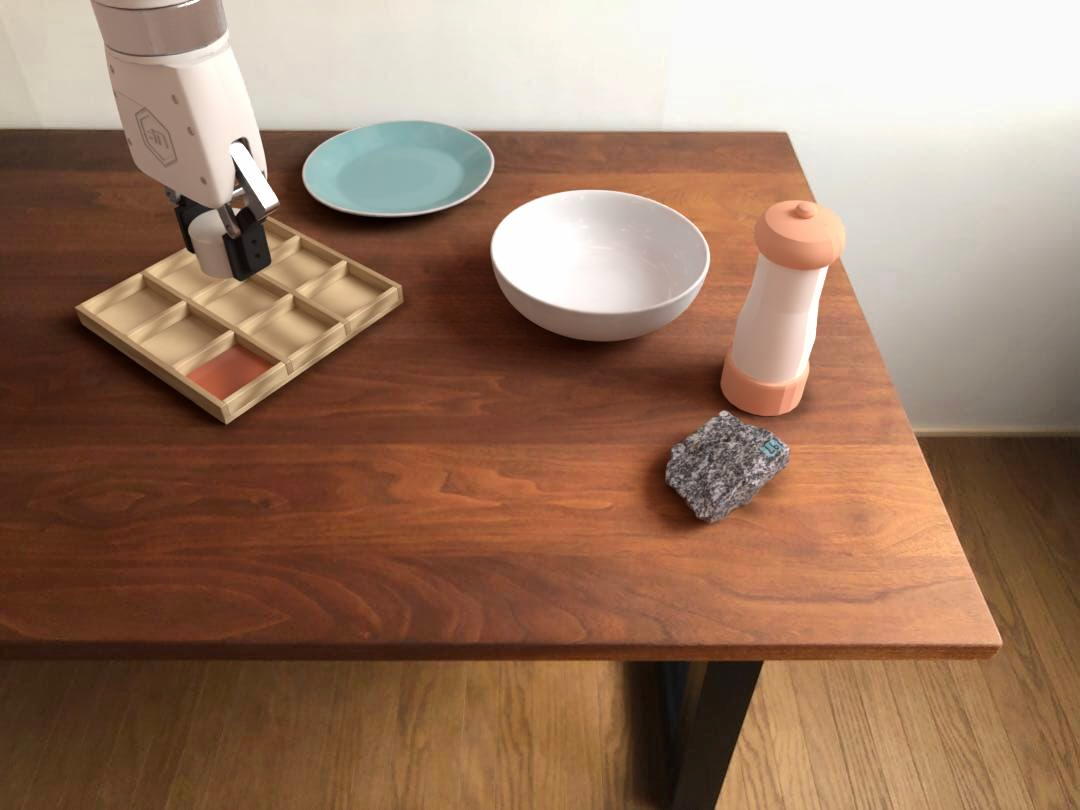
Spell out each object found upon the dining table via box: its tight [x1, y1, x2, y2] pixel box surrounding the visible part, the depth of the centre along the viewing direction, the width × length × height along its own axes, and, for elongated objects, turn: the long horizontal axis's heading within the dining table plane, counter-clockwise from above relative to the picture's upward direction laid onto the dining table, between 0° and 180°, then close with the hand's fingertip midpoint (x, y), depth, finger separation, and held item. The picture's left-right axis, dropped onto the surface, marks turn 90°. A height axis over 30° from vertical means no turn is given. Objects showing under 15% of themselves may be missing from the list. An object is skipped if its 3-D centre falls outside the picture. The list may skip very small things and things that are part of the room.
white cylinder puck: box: [188, 207, 242, 279], centre depth 68 cm, size 5×5×3 cm
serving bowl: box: [489, 189, 711, 342], centre depth 87 cm, size 21×21×7 cm
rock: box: [664, 409, 791, 524], centre depth 72 cm, size 8×10×4 cm
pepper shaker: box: [720, 199, 847, 417], centre depth 74 cm, size 7×7×19 cm
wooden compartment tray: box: [74, 215, 404, 426], centre depth 87 cm, size 22×22×2 cm
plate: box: [301, 119, 495, 218], centre depth 104 cm, size 22×22×3 cm
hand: (229, 256), depth 68 cm, fingers closed on white cylinder puck, 4 cm apart
